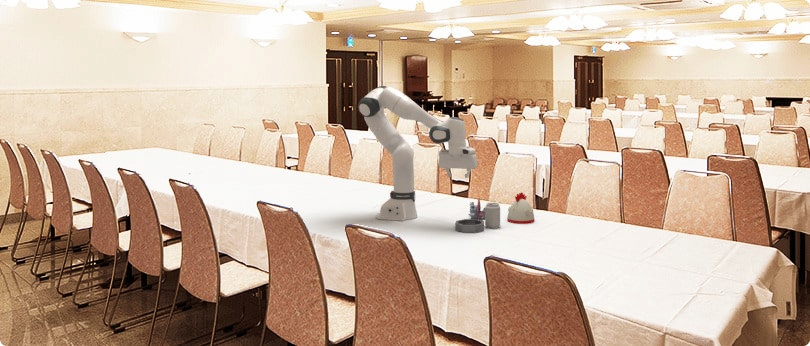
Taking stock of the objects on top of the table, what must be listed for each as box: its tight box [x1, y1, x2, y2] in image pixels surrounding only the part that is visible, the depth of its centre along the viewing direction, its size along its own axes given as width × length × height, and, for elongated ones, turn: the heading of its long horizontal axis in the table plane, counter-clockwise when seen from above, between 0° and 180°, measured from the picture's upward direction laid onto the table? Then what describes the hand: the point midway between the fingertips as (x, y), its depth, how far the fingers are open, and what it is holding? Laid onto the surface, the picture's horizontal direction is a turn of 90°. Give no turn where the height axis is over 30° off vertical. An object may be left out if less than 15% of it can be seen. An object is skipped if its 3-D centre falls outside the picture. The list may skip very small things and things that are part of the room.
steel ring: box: [454, 218, 485, 234], centre depth 323 cm, size 14×14×4 cm
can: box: [484, 202, 501, 229], centre depth 327 cm, size 8×8×12 cm
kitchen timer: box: [506, 192, 535, 225], centre depth 338 cm, size 14×14×15 cm
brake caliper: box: [467, 197, 485, 221], centre depth 347 cm, size 11×11×12 cm
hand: (458, 177), depth 327 cm, fingers open, 8 cm apart
